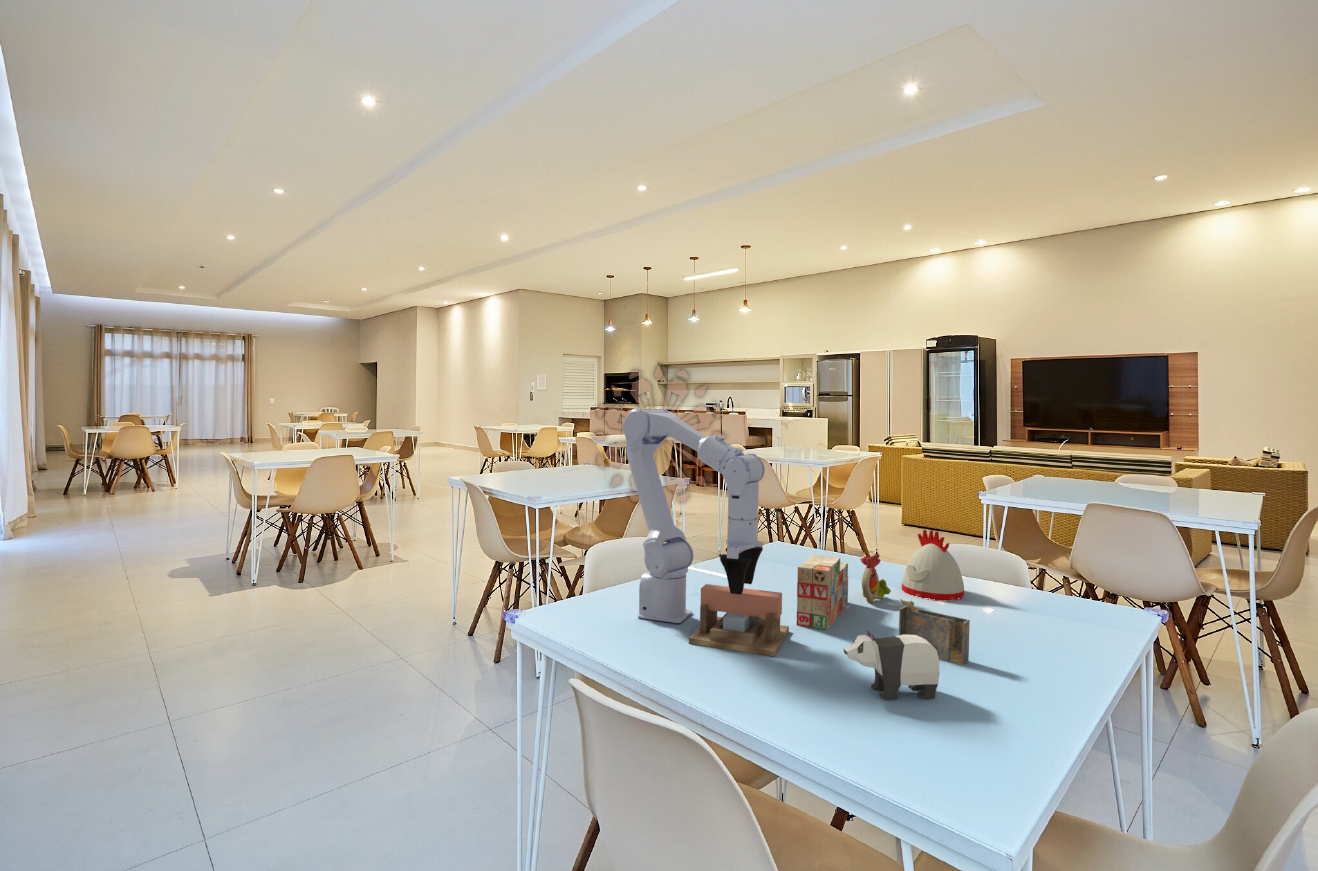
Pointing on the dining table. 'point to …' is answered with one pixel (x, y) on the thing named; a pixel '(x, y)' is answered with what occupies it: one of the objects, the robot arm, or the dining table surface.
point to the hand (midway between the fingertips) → (741, 588)
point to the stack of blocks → (821, 591)
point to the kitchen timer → (933, 571)
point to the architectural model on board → (937, 631)
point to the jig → (740, 634)
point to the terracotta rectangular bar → (742, 601)
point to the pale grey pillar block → (738, 622)
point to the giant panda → (898, 663)
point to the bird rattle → (873, 580)
